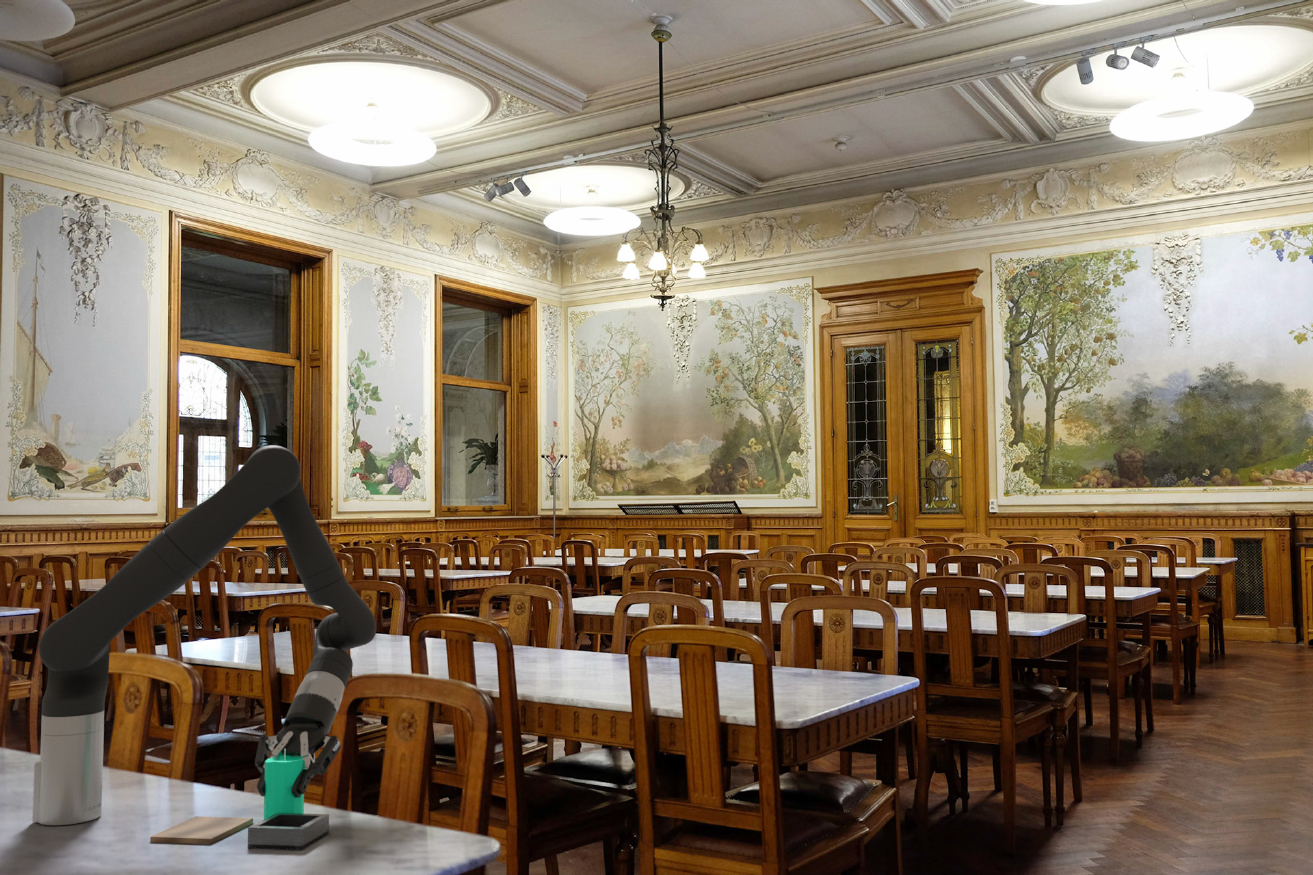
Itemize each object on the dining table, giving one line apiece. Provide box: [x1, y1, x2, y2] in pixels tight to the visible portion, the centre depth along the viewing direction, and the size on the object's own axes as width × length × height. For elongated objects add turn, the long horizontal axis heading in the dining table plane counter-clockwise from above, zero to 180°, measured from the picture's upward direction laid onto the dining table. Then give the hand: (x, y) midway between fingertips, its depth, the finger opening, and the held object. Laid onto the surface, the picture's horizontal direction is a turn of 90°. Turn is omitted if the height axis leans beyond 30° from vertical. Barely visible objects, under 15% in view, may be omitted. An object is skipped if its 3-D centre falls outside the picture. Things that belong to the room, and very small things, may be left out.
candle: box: [263, 749, 305, 820], centre depth 175 cm, size 6×6×12 cm
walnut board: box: [149, 815, 254, 845], centre depth 172 cm, size 10×12×1 cm
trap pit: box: [247, 813, 330, 851], centre depth 166 cm, size 9×9×3 cm
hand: (278, 793), depth 173 cm, fingers closed on candle, 5 cm apart
